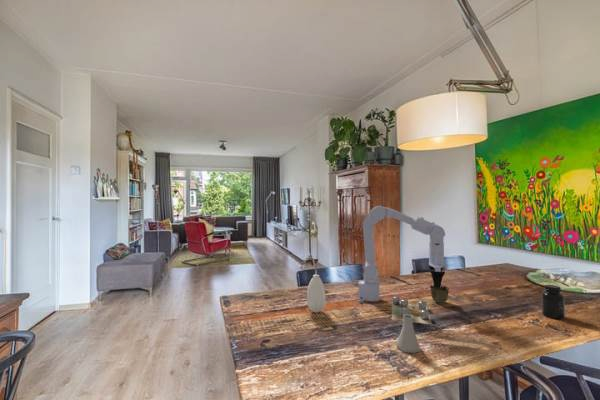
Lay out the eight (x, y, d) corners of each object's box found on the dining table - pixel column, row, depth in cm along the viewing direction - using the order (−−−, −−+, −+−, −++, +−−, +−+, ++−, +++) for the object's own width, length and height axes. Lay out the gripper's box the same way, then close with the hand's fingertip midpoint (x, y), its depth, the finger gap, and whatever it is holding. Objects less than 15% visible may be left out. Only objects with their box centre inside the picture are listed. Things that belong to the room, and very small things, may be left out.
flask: (392, 342, 93) (392, 312, 93) (413, 341, 94) (413, 311, 94) (402, 354, 86) (402, 321, 86) (425, 353, 86) (425, 320, 86)
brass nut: (407, 313, 113) (407, 308, 113) (407, 310, 117) (407, 305, 117) (418, 315, 112) (418, 309, 112) (417, 311, 116) (417, 306, 116)
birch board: (391, 322, 108) (391, 319, 108) (391, 305, 126) (391, 302, 126) (432, 327, 103) (432, 324, 103) (426, 308, 122) (426, 305, 122)
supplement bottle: (559, 314, 115) (559, 284, 115) (568, 320, 109) (568, 289, 109) (538, 312, 117) (538, 283, 117) (546, 318, 111) (546, 287, 111)
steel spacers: (392, 316, 111) (392, 308, 111) (392, 302, 126) (392, 295, 126) (429, 320, 106) (429, 312, 106) (425, 305, 122) (425, 298, 122)
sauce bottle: (327, 315, 115) (326, 270, 115) (307, 316, 114) (307, 271, 114) (324, 308, 123) (323, 266, 123) (306, 308, 122) (305, 266, 122)
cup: (451, 308, 121) (451, 290, 121) (432, 307, 123) (432, 289, 123) (445, 302, 129) (445, 284, 129) (428, 301, 130) (428, 284, 130)
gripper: (448, 256, 114) (448, 290, 114) (445, 250, 128) (445, 281, 128) (429, 255, 117) (429, 288, 117) (427, 249, 130) (428, 279, 130)
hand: (436, 284), depth 122 cm, fingers open, 7 cm apart
